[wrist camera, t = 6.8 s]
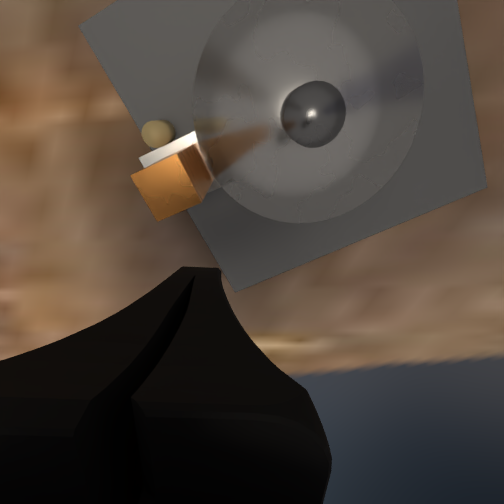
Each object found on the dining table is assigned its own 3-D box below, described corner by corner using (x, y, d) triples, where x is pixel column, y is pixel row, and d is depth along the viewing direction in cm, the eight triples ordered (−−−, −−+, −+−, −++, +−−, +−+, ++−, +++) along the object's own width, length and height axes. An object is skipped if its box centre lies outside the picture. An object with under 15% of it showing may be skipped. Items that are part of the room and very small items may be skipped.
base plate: (409, -174, 13) (453, -252, 10) (473, 182, 19) (511, 195, 16) (90, 31, 15) (56, 14, 13) (235, 283, 21) (233, 308, 19)
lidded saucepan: (385, -77, 13) (469, -193, 8) (431, 171, 17) (504, 196, 12) (101, 76, 15) (29, 60, 10) (204, 262, 19) (188, 314, 14)
